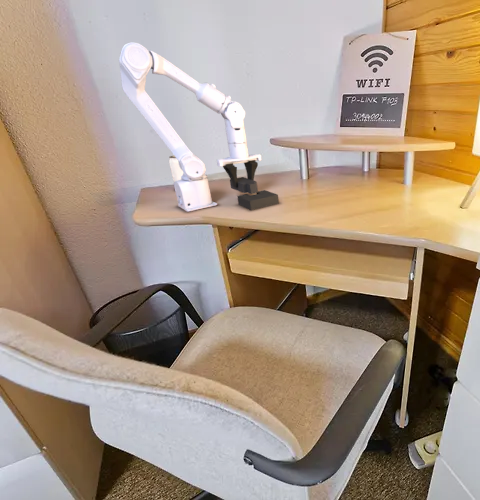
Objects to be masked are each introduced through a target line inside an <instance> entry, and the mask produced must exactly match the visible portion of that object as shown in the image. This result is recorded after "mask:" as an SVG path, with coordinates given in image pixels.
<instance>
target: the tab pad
mask: <svg viewBox="0 0 480 500" xmlns="http://www.w3.org/2000/svg"><path fill="white" fill-rule="evenodd" d="M237 180H238V187H234V186H233V184H232V181H231V179H230V178H229V183H230V189H233V190H235V191H238V192H240V193H243V194H249V195H254V194H256V193H257V192H258V191H259V190H258V189H259V188H258V183H257V181H256V180H254V181H253V180H250V179H248V178H247V177H244V176H240V177H237Z"/></svg>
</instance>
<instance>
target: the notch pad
mask: <svg viewBox="0 0 480 500" xmlns="http://www.w3.org/2000/svg"><path fill="white" fill-rule="evenodd" d="M236 197H237V202H238V206H240V207H243V208H244V209H246V210H249V211H255V210H259V209H263V208H267V207H271V206H275V205H279V204H280V202H279V194H277V193H274V192H271V191H269V190H266V189H262V190H258V192H257V193H254V194H249V193H243V194H240V195H237V196H236Z"/></svg>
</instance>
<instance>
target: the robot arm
mask: <svg viewBox="0 0 480 500" xmlns="http://www.w3.org/2000/svg"><path fill="white" fill-rule="evenodd" d="M119 54H120V55H119V58H118V63H119V71H120V80H121V89H122V91H123V93H124V94H125V95H126V97H127V98H128V99H129V100H130V102H131V103H132V105H134V107H135V108H136V109H137V111H138V112H139V113H140V115H142V117H143V118H144V119H145V121H146V122H147V123H148V124H149V126H150V127H151V128H152V130H153V131H154V132H155V133H156V135H157V136H158V137H159V138H160V140H161V141H162V142H163V144H164V145H165V146H166V148H167V149H168V150H169V151H170V152H171V154H172V156H175V157H176V158H177V160H178V162H179V166H180V168H181V169H182V171H183V175H182V176H181V180H179V181H175V182H174V181H173V187H174V188H173V189H174V190H175V191H174V192H175V196H176V200H177V204H178V205H177V206H178V207H179V208H181V209H182V210H184V211H185V212H187V213H188V212H192V211H193V212H194V211H197V210H202V209H205V208H210V207H211V208H212V207H214V206H218V203H217V202H214V201H213V200H212V194H211V190H210V183H209V179H208V175H207V173H206V171H207V168H206V164H205V162H204V161H202V160H201V158H199V157H198V156H197V155H196V154H195V153H193V152H192V151H191V150H190V148H189V147H188V146H187V144H186V143H185V142H184V141H183V139H182V138H181V137H180V135H179V134H178V133H177V131H176V130H175V129H174V127H173V126H172V125H171V123H170V122H169V121H168V119H167V118H166V116H165V115H164V114H163V112H162V111H161V110H160V109H159V107H158V106H157V104H156V103H155V102H154V101H153V99H152V97H150V95H149V94H148V92H147V91H146V90H145V88H146V82H147V76H148V74H149V72H150V70H151V72H152V73H151V74H153V75H160V76H165V77H167V78H169V79H170V80H172V81H174V82H175V83H176V84H179V86H180V85H181V87H184V88H185V89H187V90H189V91H191V92H192V93H194V95H195V98H196V100H197V101H198V102H199V103H201V104H202V105H204V106H206V107H207V108H209V109H210V110H212V111H213V112H215V113H217V114H219V115H220V116H221V117H222V118H223V119H224V126H225V129H224V130H225V133H226V140H227V148H228V152H229V156H227V157H223V158H218V159H216V166H217V167H222V168H223V169H224V171H225V172H226V173H227V176H228V177H229V180H230V179H231V181H232V184H233V186H234V187H238V180H237V178H238V167H237V166H235V165H236V164H243V165H244V168H245V172H246V176H247V177H246V178H247V179H250V180H253V181H255V176H256V175H255V174H256V171H257V168H258V166H259V161H262V155H261V153H260V154H259V153H256V154H249V150H248V143H247V142H248V141H247V133H246V127H245V122H244V120H245V117H246V110H244V107H243V106H242V104H241V103H239V102H238V101H234V100H232V97H231V95H228V94H227V95H226V94H225V93H223V92H222V91H220V90H219V89H217V88H216V87H217V86H216V85H215V84H214V83H208V82H203V83H200V82H199V81H197V80H196V79H194V78H193V77H192V76H190V75H189V74H188V73H186V72H185V71H184V70H182V69H181V68H179V67H178V66H176V65H174V64H173V63H172V62H170V61H169V60H168V59H166V58H164V57H163V56H161V55H160V54H159V53H156V52H155V51H153V50H151V49H149V50H148V49H147V47H145V46H143V45H142V44H141V43H138V42H133V41H132V42H127V43H125V44H124V45H123V46H122V48H121V52H120V53H119Z"/></svg>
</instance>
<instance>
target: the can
mask: <svg viewBox="0 0 480 500" xmlns="http://www.w3.org/2000/svg"><path fill="white" fill-rule="evenodd" d="M168 165H169V168H170V172H171V176H172V180H173V183H174V182H175V181H179V180H181V176H182V175H183V171H182V169H181V168H180V166H179V162H178V160H177V158H176V157H175V156H174V155H170V156H169V160H168Z"/></svg>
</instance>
